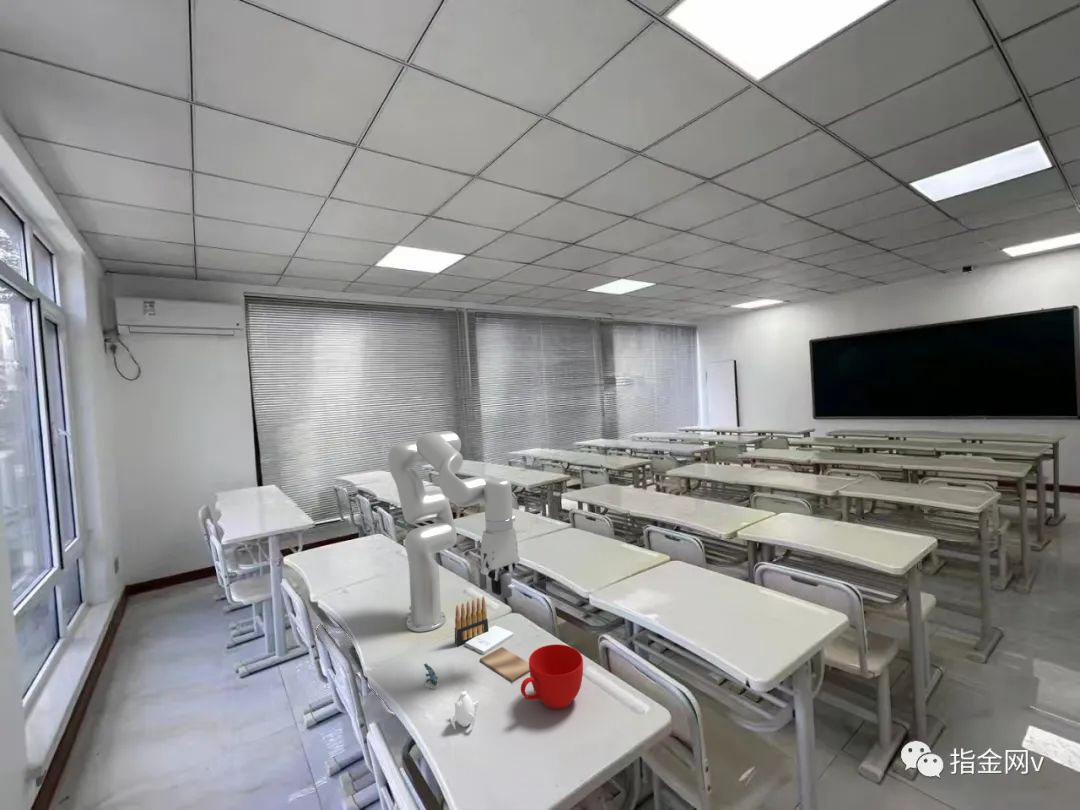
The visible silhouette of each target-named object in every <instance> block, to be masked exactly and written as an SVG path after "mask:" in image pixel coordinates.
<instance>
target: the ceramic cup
mask: <svg viewBox="0 0 1080 810" xmlns="http://www.w3.org/2000/svg"><path fill="white" fill-rule="evenodd" d="M583 659H584V658H583V656H582V654H581V652H580V651H579V650H577V649H576V648H574V647H572V646H569V645H567V644H566V645H565V644H549V645H548V644H547V645H543V646H541V647H539V648H537V649H535V650H534V651H533V652H531V654H530V656H529V658H528V663H529V670H530V672H529V677H526V678H525V679H523V681H522V682H521V684H520V693H521V696H523V697H524V698H525V699H526V700H528V701H529V700H530V701H535V700H536V701H537V700H540V701H541V702H542V703H543V704H544V705H545V707H547V708H549V709H551V710H556V711H557V710H564V709H566V708H567V707H569V706H570V705H571V704H572V702H573V701H574V700H575V699H576V697H577V696H578V693H579V691H580V689H581V686H582V680H583V675H584V673H583V671H584V660H583ZM530 683H531V684H532V687H533V691H534V693H535V694H532V695H531V694H529V695H528V694H527V693H526V688H527V686H528V684H530Z"/></svg>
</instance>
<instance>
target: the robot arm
mask: <svg viewBox="0 0 1080 810" xmlns="http://www.w3.org/2000/svg"><path fill="white" fill-rule="evenodd" d="M461 449H462V440H461V439H460V437H459V436H458V434H457V433H456V432H453V430H452V431H451V430H446V431H445V430H443V431H432V432H427V433H424V434H422V435H420V436H419V437H418V438H417V440H414V441H405V442H400V443H397V444H395V445H393V446H392V447H391V448H390V450H389V451H388V453H387V455H388V456H387V465H388V469H389V472H390V475H391V477H392V478H393V480H394V483H395V485H396V488H397V494H398V499H399V502H400V508H401V511H402V514H403V515H402V516H403V518H404V520H405V521H406V523H408V524H410V525H413V524H420V523H423V522H424V523H425V522H427V521H431V520H433V523H431V524H426V525H421V526H418V527H416V528H414V529H412V530H410V531H408V533H407V534H406V536H405V538H404V547H405V553H406V554H407V555H406V556H407V561H408V569H409V570H408V572H409V573H408V574H409V575H408V576H409V596H410V597H409V598H410V606H409V608H408V610H409V611H410V616H409V617H408V619H407V620H406V627H407V629H408V630H410V631H413V632H416V633H417V632H421V633H422V632H423V633H424V632H429V631H433V630H435V629H438V628H440V627H441V626H443V625H444V624H445V622H446V621H447V615H446V614H445V612H443V611H442V609H441V608H442V607H441V584H440V583H441V581H440V568H439V567H440V566H439V564H438V563H437V561H436V560H435V559H434V558H433V555H434V554H437V553H440V552H442V551H445V550H448V549H450V548H453V546H455V544H456V542H457V540H458V539H457V538H458V536H457V535H458V534H457V529H456V525H455V520H454V516H453V512H452V508H451V504H450V502H451V503H452V504H454V505H456V506H457V507H460V508H467V507H470V506H475V505H478V504H483V503H484V517H485V518H484V524H485V530H482V532H483V533H482V536H481V544H480V565H481V568H480V571H479V572H480V574H482V575H483V576H487V577H488V578H489V579H490V581H491V583H490V585H491V593H492V592H493V593H492V594H494V593H495V594H494V595H496V594H498V595H500V594H501V585H500V580H499V568H501V569H504V570H506V571H509V572H511V576H512V575H513V573H514V569H515V568H516V566H517V565H518V564H519V563H520V561H521V558H520V556H519V548H518V547H519V545H518V538H517V533H516V529H515V527H514V522H515V520H516V517H515V516H513V515H514V514H513V498H512V497H513V496H512V494H513V493H512V483H511V481H510V480H509V479H507V478H497V477H495V476H493V475H490V474H485V475H484V474H483V475H478V476H473V477H467V478H463V479H461V478H459V477H458V476H456V474H457V473H458V472H459V471H460V469H461V468H462V466H463V463H464V457H463V455H462V453H460V451H461ZM426 465H430V466H431V467H433V469H435V471H437V472H438V477H437V479H438V485H439V488H440V490H435V489H434V490H430V491H426V490H425V485H424V482H423V479H422V477H421V475H420V474H419V473H418V472H416V471H415V470H414V469H413V468H414V467H421V466H426ZM498 595H497V596H498Z"/></svg>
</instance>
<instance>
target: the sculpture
mask: <svg viewBox="0 0 1080 810" xmlns="http://www.w3.org/2000/svg"><path fill="white" fill-rule="evenodd" d="M423 666H424V668H425V670H427V673H425V681H424V683H425V684H424V686H425V687H428V686H429V687H430V688H432V689H433V690H434V689H435V690H437V689H439V688H440V685H439V682H438V676H437V675H436V672H435V671H434V669H433V668H432V667H431V666H430V665H429V664H428V663H424V664H423ZM429 687H428V688H429ZM438 687H439V688H438Z"/></svg>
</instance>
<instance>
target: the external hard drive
mask: <svg viewBox="0 0 1080 810" xmlns="http://www.w3.org/2000/svg"><path fill="white" fill-rule="evenodd" d="M488 630H489V631H488V632H486V633H484V632H483V634H481V635H478V636H476V637H474V638H472V639H471V640H469V641H467V642H465V644H464V646H465V647H466V648H468V649H470V650H473V651H475V652H477V653H479V654H481V655H483V656H485V655H487V654H489V653H490V652H491V651H492V650H494V649H496V648H497V647H498V646H500V645H502V644H503V643H505V642H507V641H508V640H510V639H511V638H513V637H514V633H513V631H511V630H508V629H505V628H503V627H500V626H498V625H493V626H491V627H488Z"/></svg>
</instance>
